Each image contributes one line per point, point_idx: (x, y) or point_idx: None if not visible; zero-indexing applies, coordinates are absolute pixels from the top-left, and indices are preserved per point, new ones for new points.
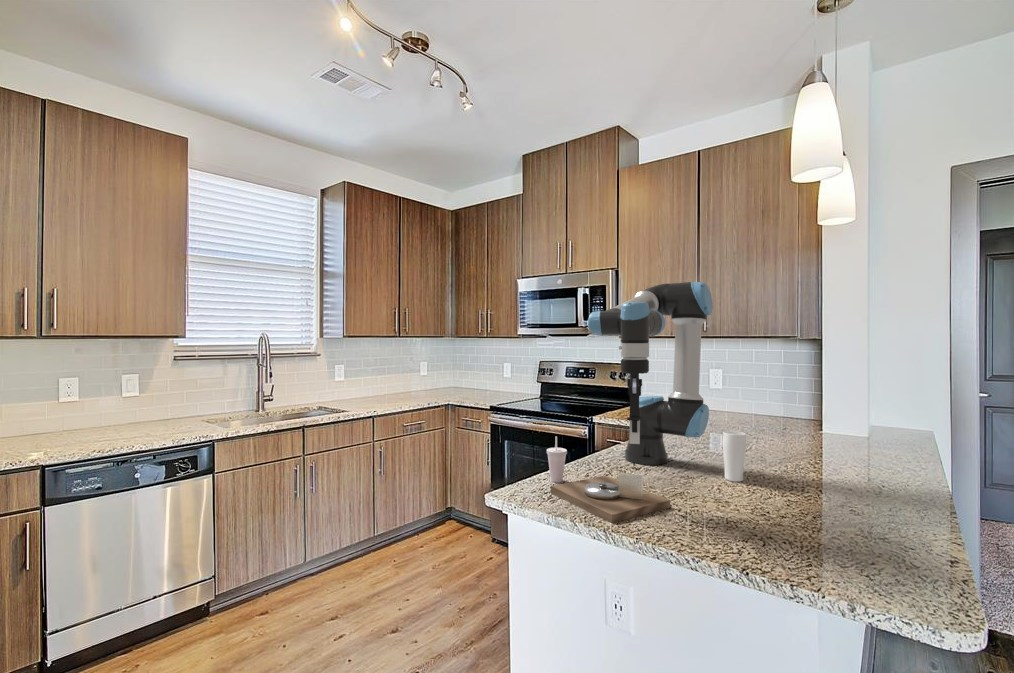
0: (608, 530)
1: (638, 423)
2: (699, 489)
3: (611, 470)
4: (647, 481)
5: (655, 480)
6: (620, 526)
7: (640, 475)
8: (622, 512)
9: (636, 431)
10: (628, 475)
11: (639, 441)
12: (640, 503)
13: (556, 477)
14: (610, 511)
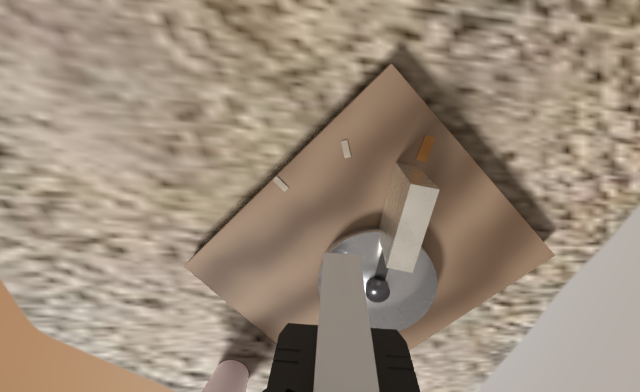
0: (592, 252)
1: (377, 386)
2: None
3: (61, 235)
4: (129, 122)
5: (104, 92)
6: (564, 223)
7: (410, 193)
8: (529, 226)
9: (402, 342)
10: (420, 239)
11: (361, 265)
12: (446, 170)
13: (245, 384)
14: (527, 258)
